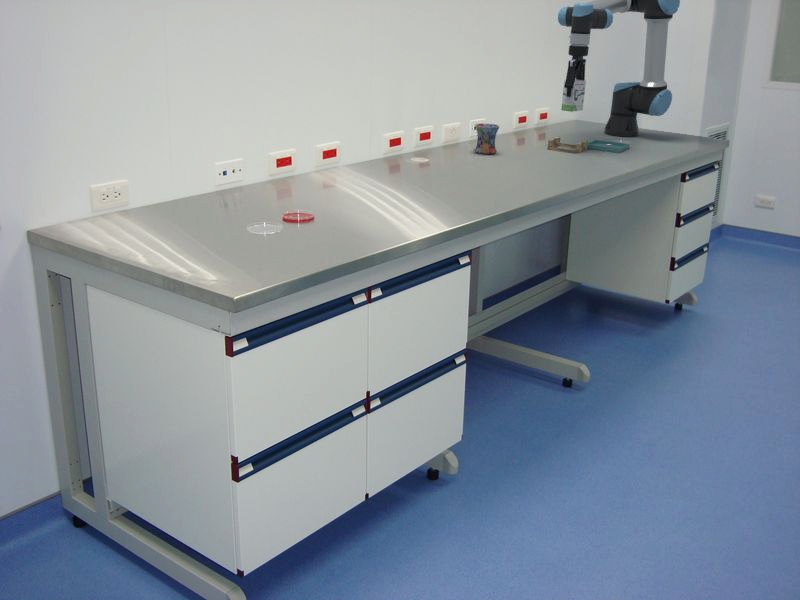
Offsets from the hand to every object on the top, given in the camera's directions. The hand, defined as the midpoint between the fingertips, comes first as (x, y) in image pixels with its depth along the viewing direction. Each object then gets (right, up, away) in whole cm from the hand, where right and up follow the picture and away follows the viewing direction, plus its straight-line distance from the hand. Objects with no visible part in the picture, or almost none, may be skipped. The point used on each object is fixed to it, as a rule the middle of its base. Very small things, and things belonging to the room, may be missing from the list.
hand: (572, 103), depth 336 cm
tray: (+16, -16, +12) cm, 26 cm away
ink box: (0, -3, +1) cm, 3 cm away
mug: (-35, -21, -8) cm, 42 cm away
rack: (-1, -17, +6) cm, 18 cm away
